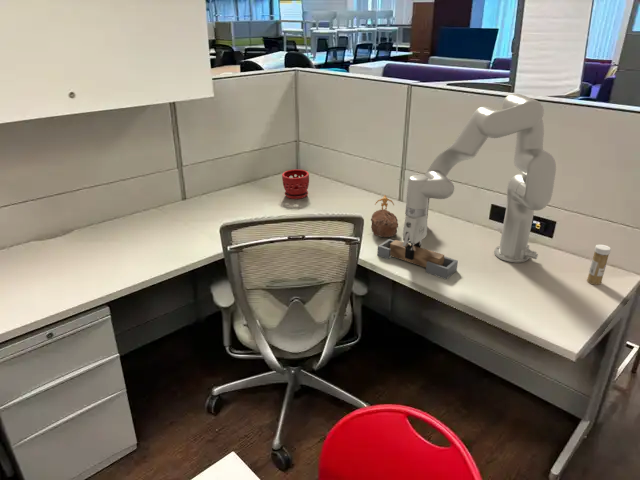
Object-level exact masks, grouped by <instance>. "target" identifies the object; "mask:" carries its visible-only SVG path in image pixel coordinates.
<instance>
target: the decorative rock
mask: <svg viewBox="0 0 640 480" xmlns="http://www.w3.org/2000/svg"><path fill="white" fill-rule="evenodd" d="M370 221H371V227H370V228H371V231H372V233H373V235H374V236H377V237H381V238H390V237H391V238H392V237H395V236H396V235H397V233H398V227H399V223H398V221H399V220H398V218H397V216H396V215H395V214H394V213H392V212H390V211H389V210H387V209H386V210H385V209H384V208H383V209H382V208H381V209H379V210H376V211H374V212H373V214H372V215H371V219H370Z"/></svg>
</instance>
